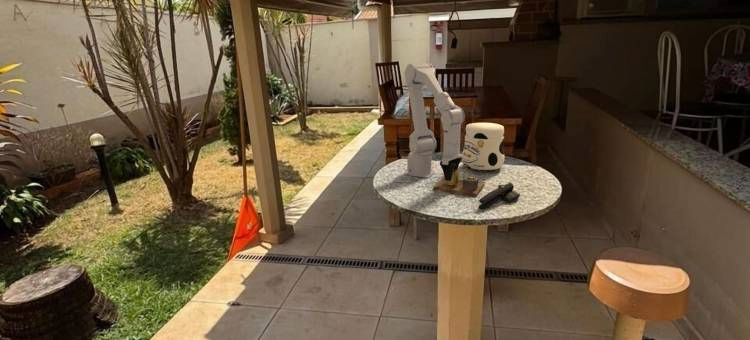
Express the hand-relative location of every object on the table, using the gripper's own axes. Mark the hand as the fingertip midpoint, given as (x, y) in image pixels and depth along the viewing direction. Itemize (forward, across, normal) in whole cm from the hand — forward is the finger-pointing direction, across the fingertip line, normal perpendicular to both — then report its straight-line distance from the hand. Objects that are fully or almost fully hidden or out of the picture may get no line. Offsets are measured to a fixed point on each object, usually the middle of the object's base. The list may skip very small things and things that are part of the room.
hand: (450, 177), depth 142 cm
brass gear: (+2, 0, 0) cm, 2 cm away
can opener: (+4, -7, -18) cm, 20 cm away
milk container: (+4, +28, -5) cm, 29 cm away
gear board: (+4, +1, -3) cm, 5 cm away
